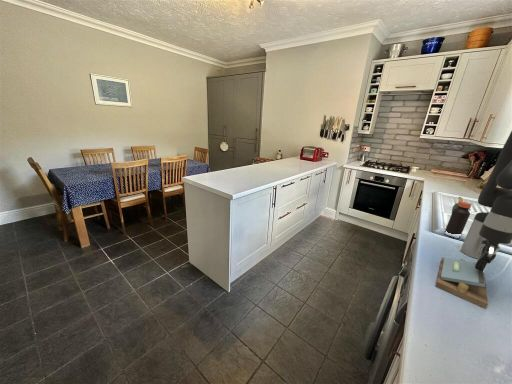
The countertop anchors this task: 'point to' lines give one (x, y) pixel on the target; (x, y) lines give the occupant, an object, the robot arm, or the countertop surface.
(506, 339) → the countertop surface
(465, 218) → the bottle
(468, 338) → the countertop surface
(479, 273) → the level plate
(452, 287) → the base
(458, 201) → the vegetable
